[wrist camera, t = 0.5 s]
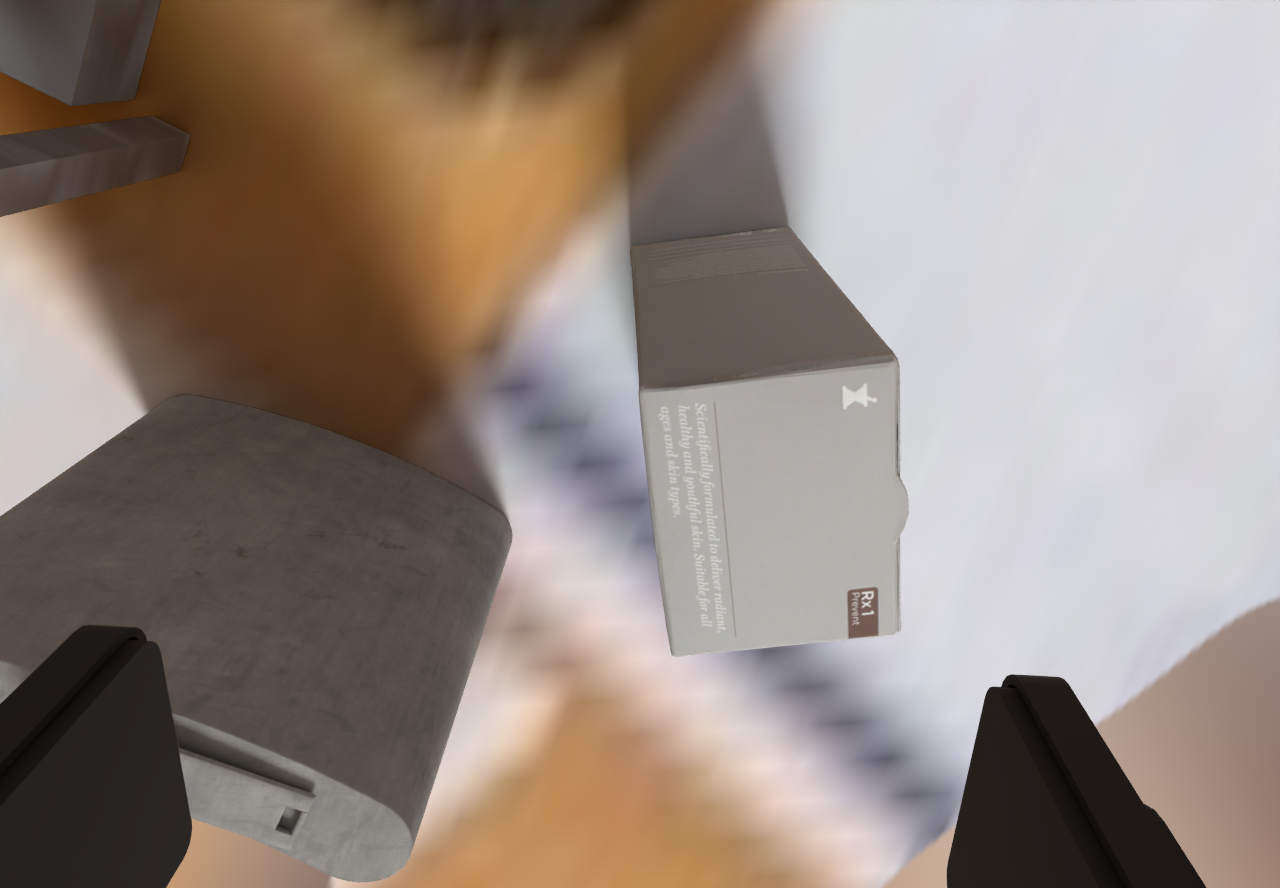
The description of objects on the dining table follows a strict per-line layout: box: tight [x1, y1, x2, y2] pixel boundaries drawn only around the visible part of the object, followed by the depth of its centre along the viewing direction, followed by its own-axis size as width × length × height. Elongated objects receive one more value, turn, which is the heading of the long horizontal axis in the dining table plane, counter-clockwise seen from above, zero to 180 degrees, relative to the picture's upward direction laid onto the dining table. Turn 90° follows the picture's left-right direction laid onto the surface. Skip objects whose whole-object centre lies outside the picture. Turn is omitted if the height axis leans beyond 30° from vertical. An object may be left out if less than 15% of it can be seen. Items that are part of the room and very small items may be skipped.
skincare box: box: [630, 227, 909, 657], centre depth 31 cm, size 8×7×16 cm
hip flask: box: [0, 395, 512, 882], centre depth 32 cm, size 16×4×20 cm, turn 68°
